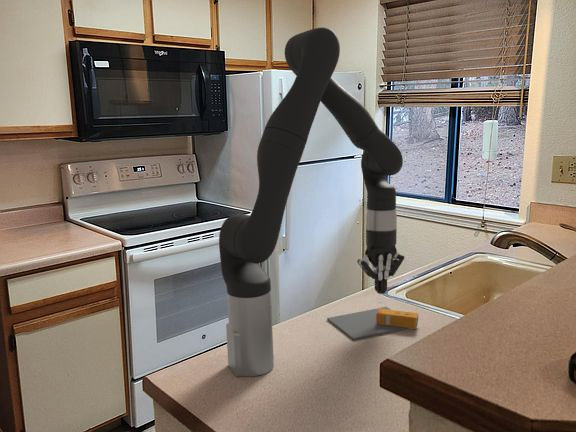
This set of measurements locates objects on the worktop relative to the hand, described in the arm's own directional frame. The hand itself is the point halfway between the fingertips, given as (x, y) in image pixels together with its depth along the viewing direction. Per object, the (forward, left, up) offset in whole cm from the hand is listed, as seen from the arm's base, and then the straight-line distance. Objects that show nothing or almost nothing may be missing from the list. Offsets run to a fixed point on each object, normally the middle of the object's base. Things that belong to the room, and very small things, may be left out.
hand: (380, 292), depth 135 cm
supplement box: (-2, -1, -6) cm, 6 cm away
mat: (-3, 0, -8) cm, 8 cm away
